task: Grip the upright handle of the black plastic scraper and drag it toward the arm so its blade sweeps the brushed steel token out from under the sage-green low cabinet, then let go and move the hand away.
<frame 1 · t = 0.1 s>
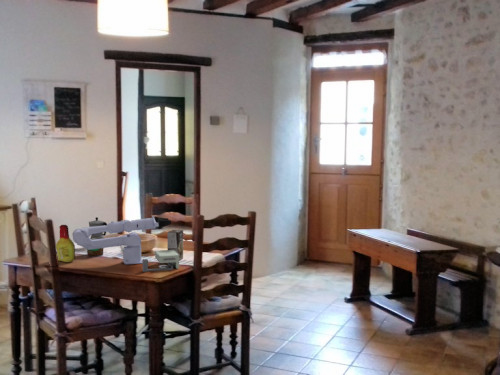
hand: (169, 221, 310), 22 cm above the table, tool horizontal, fingers open, 7 cm apart
low cabinet: (166, 266, 299), on the table
steel token: (163, 267, 296), on the table
food container: (92, 255, 322), on the table
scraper: (145, 271, 287), on the table
bottle: (65, 261, 306), on the table
coffeepot: (98, 247, 346), on the table
coffee box: (175, 260, 313), on the table
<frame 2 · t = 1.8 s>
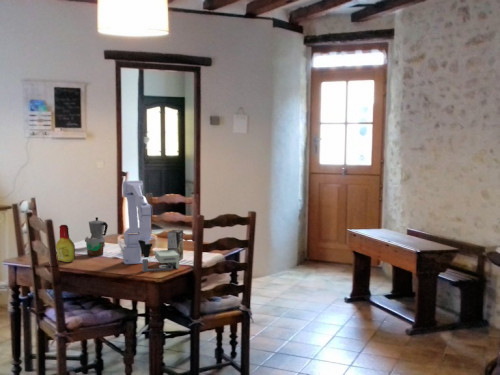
hand: (145, 255, 286), 8 cm above the table, tool pointing down, fingers open, 7 cm apart
nothing on the table moved.
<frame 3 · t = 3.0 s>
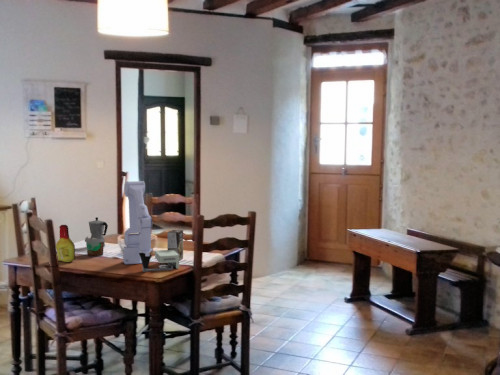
hand: (145, 267, 287), 2 cm above the table, tool pointing down, fingers closed on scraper, 2 cm apart
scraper: (145, 271, 287), on the table, touching gripper
everything else where it was.
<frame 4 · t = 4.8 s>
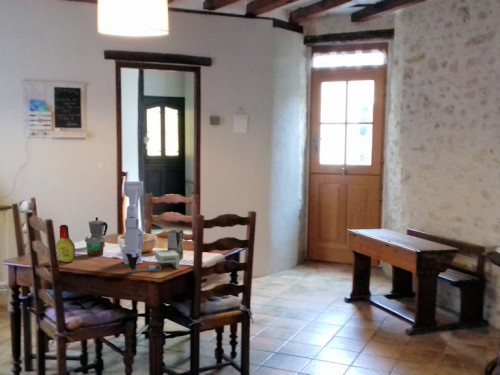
hand: (132, 268, 285), 2 cm above the table, tool pointing down, fingers closed on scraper, 2 cm apart
steel token: (153, 268, 294), on the table
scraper: (133, 272, 285), on the table, touching gripper
everything else where it was.
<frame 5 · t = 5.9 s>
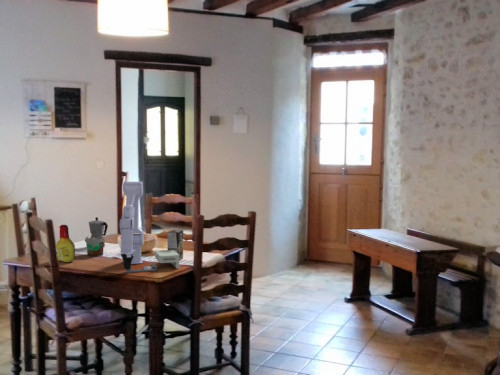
hand: (127, 268, 284), 2 cm above the table, tool pointing down, fingers closed on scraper, 2 cm apart
steel token: (148, 269, 293), on the table
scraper: (128, 272, 284), on the table, touching gripper
everything else where it was.
when the fingers open (2 cm above the table, at t = 6.7 s): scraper stays where it is, on the table.
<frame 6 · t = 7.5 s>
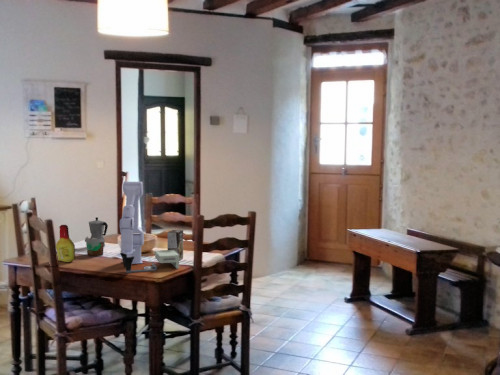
hand: (127, 268, 284), 2 cm above the table, tool pointing down, fingers open, 7 cm apart
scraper: (128, 272, 284), on the table
everything else where it was.
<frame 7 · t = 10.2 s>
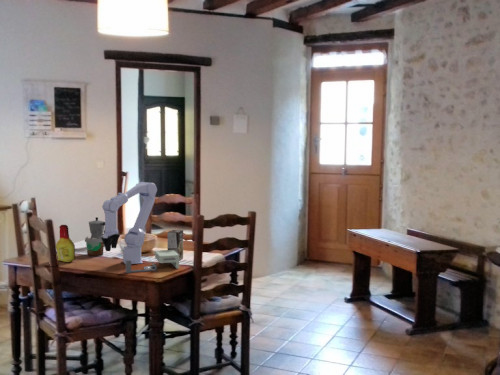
hand: (111, 249, 293), 9 cm above the table, tool pointing down, fingers open, 7 cm apart
nothing on the table moved.
at the end: steel token inside the target area (4.1 cm from its centre), on the table; steel token tilted 0° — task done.
